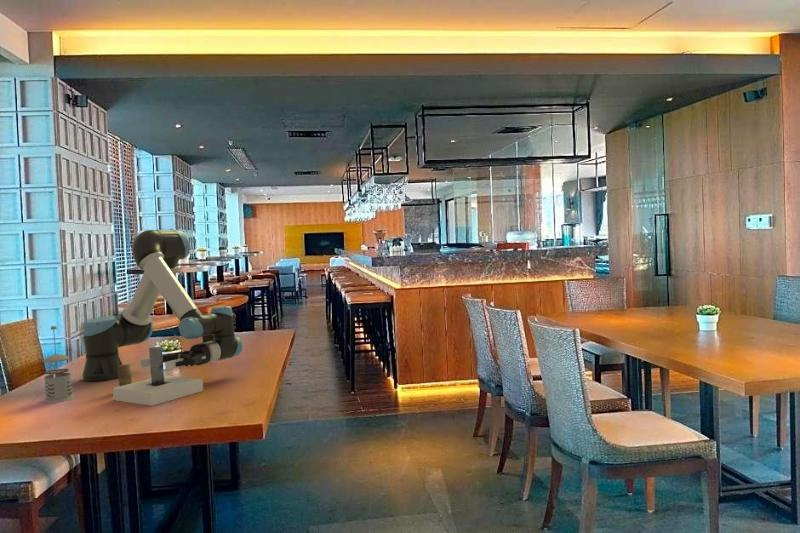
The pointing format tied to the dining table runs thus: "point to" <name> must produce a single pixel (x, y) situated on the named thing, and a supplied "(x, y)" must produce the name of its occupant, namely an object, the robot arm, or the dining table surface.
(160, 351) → the metal pin
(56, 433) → the dining table surface
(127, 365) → the walnut pin
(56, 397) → the french press
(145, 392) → the hole plate
